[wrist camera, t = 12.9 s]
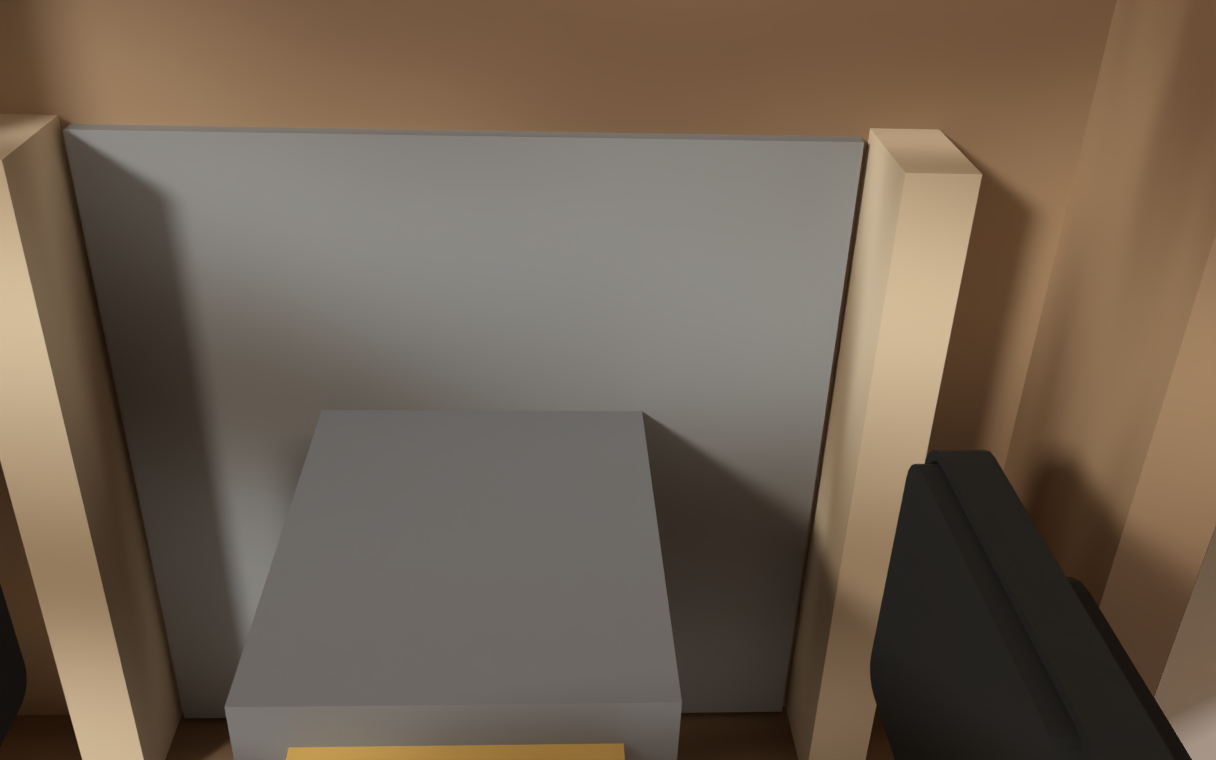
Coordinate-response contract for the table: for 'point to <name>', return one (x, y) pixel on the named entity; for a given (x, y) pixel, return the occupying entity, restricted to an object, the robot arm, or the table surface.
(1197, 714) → the table surface
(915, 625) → the robot arm
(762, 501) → the crate
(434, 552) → the block
